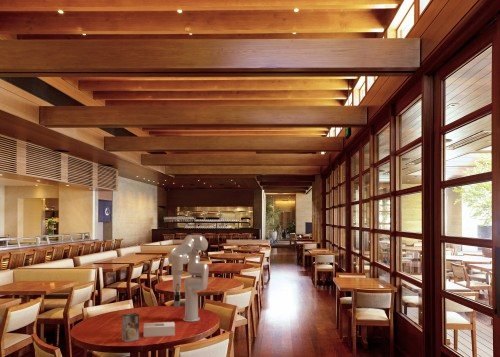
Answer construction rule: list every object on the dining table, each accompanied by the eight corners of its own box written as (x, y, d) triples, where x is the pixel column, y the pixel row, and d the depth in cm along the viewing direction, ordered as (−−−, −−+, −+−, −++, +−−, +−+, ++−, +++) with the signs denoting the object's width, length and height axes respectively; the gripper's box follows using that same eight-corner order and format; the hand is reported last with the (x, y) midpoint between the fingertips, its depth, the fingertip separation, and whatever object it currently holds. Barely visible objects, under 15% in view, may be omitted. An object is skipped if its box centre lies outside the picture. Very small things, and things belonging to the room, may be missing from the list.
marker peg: (173, 306, 323) (173, 288, 323) (179, 305, 323) (179, 287, 324) (174, 307, 319) (174, 289, 319) (180, 307, 319) (180, 288, 320)
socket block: (143, 332, 320) (144, 323, 321) (174, 330, 324) (174, 321, 325) (143, 337, 309) (143, 327, 309) (174, 335, 313) (174, 326, 313)
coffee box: (135, 337, 308) (135, 312, 309) (139, 339, 302) (139, 314, 303) (121, 340, 302) (121, 314, 303) (125, 342, 297) (125, 316, 298)
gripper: (170, 271, 330) (170, 298, 329) (172, 274, 314) (172, 302, 312) (181, 271, 331) (181, 298, 330) (183, 274, 315) (183, 302, 314)
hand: (176, 300), depth 321 cm, fingers closed on marker peg, 4 cm apart
